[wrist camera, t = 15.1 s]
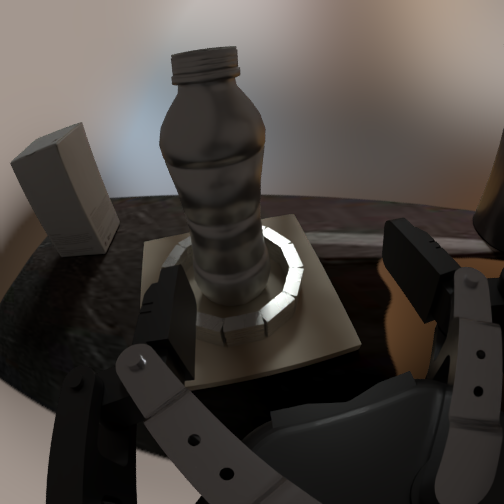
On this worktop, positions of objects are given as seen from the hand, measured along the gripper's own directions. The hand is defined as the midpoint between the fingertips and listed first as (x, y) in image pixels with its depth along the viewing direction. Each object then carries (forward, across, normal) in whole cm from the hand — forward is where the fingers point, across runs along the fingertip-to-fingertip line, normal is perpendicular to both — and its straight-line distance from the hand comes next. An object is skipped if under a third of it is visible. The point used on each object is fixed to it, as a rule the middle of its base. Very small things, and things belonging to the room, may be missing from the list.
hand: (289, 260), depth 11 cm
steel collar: (+12, +4, +11) cm, 16 cm away
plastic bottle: (+12, +4, +11) cm, 16 cm away
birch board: (+12, +4, +12) cm, 17 cm away
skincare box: (+23, +23, +8) cm, 33 cm away
